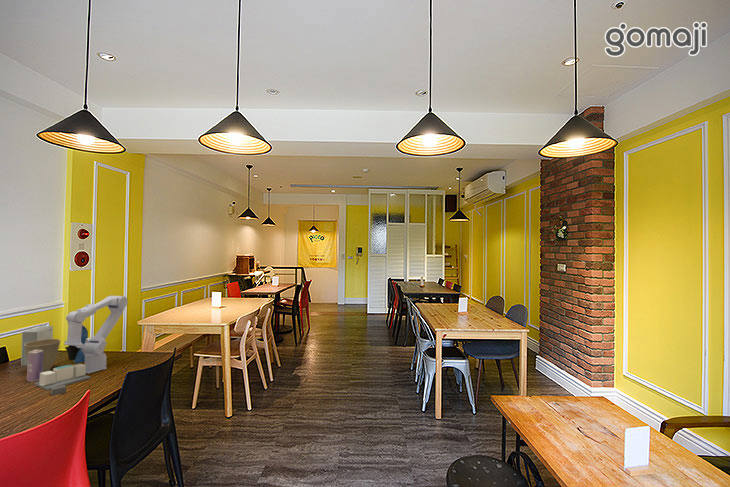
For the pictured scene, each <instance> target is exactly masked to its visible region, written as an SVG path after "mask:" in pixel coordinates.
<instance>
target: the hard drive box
mask: <svg viewBox="0 0 730 487" xmlns="http://www.w3.org/2000/svg"><path fill="white" fill-rule="evenodd" d="M53 335H54V326H53V325H39V326H35V327H33V328H31V329H28V330H24V331H22V332H21V356H20V357H21V358H20V360H21V362H20V364H21V367H27V361H28V360H27V357H26V353H25V347H24V344H26V343H28V342H32V341H37V340H44V339H54V336H53Z"/></svg>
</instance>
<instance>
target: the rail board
mask: <svg viewBox="0 0 730 487" xmlns="http://www.w3.org/2000/svg"><path fill="white" fill-rule="evenodd" d="M72 365H73V366H74V369H73V378H69V379H65V380H61V381H58V382H56V381H55V376H56V373H55V372H53V370H49V371H46V372H42V373H40V380H39V381H35V382H33V383H34V386H36V387H38V388H39V389H40V388H41V389H43V390H45V391H51V387H56V386H61V385H65V386H66V387H67V386H69V385H72V384H76V383H80V382H83V381H87V380H90V379H91V378H92V377H91V376H89V375H86V374H87V373H86V365H85V364H83V363H77V364H76V363H75V364H72Z"/></svg>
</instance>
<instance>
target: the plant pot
mask: <svg viewBox="0 0 730 487" xmlns="http://www.w3.org/2000/svg"><path fill="white" fill-rule="evenodd" d="M60 344H61V339H58V338H53V339H44V340H37V341H32V342H28V343H26V344H24V347H25V353H26V357H27V360H28V352H29V351H33V350H43V372H46V371H51V370H52V369H53V365H54V363H55V362H56V357H57V355H58V352H59V350H60V349H59V348H60Z"/></svg>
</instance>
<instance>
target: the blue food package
mask: <svg viewBox="0 0 730 487" xmlns="http://www.w3.org/2000/svg"><path fill="white" fill-rule="evenodd" d="M86 338H89V332H88V329H87V327H86V326H85V325H84V324H82V332H81V343H82V344H84V343H85V339H86ZM72 361H73V363H75V364H76V363H77V364H78V363H81V362H85V355H84V353H83V352H82V350H81V349H80V350H79V352H78V354H77V356H76V359H75V360H72Z"/></svg>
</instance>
